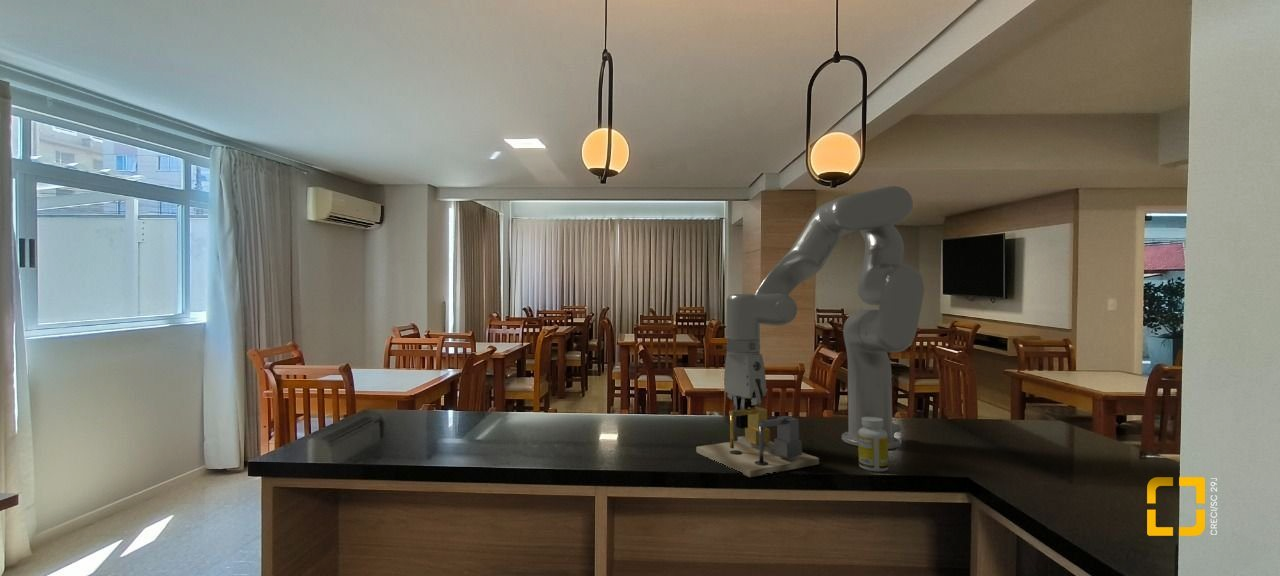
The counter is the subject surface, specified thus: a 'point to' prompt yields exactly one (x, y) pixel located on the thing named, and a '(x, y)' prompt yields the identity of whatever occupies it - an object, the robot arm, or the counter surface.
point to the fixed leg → (782, 437)
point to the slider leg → (750, 424)
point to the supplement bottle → (873, 445)
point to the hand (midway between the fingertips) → (743, 427)
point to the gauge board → (754, 457)
